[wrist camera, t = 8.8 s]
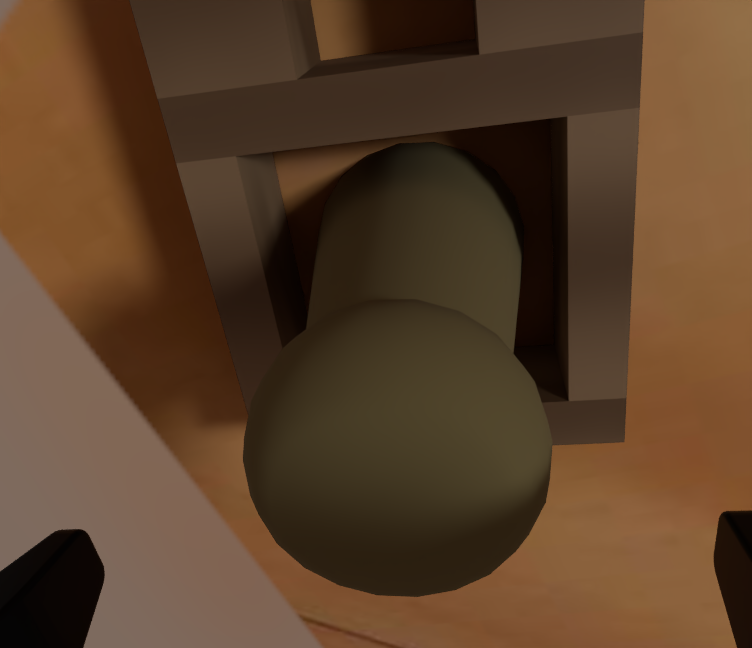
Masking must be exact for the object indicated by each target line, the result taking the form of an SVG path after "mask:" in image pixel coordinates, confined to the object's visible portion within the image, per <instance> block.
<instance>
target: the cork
mask: <svg viewBox="0 0 752 648" xmlns="http://www.w3.org/2000/svg"><path fill="white" fill-rule="evenodd" d="M523 247H524V224H523V221H522V218H521V215H520V211H519V208H518V205H517V202H516V198H515V196H514V195H513V193H512V192H511V191H510V189H509V188H508V187H507V185H506V184H505V183H504V181H503V180H502V179H501V177H500V176H499V175H498V173H497V172H496V171H495V170H494V169H492V168H491V167H489V166H488V165H486V164H485V163H483V162H482V161H481V160H479V159H478V158H476V157H475V156H473V155H472V154H470V153H469V152H467V151H464V150H460V149H457V148H453V147H450V146H446V145H443V144H439V143H435V142H423V143H400V144H397V145H394V146H391V147H389V148H386V149H383V150H381V151H378V152H375V153H373V154H370V155H367V156H366V157H365V158H364V159H362V160H361V161H360V162H359V163H358V164H356V165H355V166H354V167H353V168H351V169H350V170H349V171H348V172H347V173H345V174H344V175H343V176H342V177H341V179H340V180H339V182H338V183H337V185H336V187H335V188H334V190H333V191H332V193H331V195H330V196H329V198H328V200H327V201H326V203H325V207H324V212H323V216H322V221H321V225H320V230H319V235H318V243H317V250H316V258H315V266H314V273H313V281H312V288H311V296H310V303H309V311H308V318H307V326H306V330H304V331H303V332H302V333H300V334H299V335H297V336H296V337H295V338H294V339H293V340H292V341H290V342H289V343H288V344H287V345H286V346H285V347H284V348H283V349H282V350H281V352H280V353H279V355H278V356H277V358H276V359H275V361H274V362H273V364H272V365H271V367H270V368H269V370H268V371H267V373H266V374H265V376H264V377H263V379H262V380H261V382H260V384H259V386H258V388H257V390H256V392H255V394H254V396H253V398H252V400H251V405H250V410H249V416H248V421H247V426H246V431H245V436H244V450H243V463H244V467H245V472H246V477H247V482H248V486H249V491H250V496H251V498H252V500H253V503H254V505H255V507H256V509H257V512H258V514H259V516H260V517H261V519H262V520H263V522H264V524H265V525H266V527H267V528H268V530H269V532H270V533H271V535H272V536H273V538H274V540H275V541H276V543H277V544H278V545H279V546H280V547H281V548H283V549H284V550H285V551H286V552H287V553H288V554H290V555H291V556H292V557H293V558H294V559H295V560H296V561H298V562H299V563H300V564H301V565H302V566H303V567H304V568H306V569H308V570H310V571H312V572H314V573H316V574H318V575H320V576H322V577H324V578H326V579H328V580H330V581H332V582H334V583H336V584H338V585H340V586H344V587H348V588H352V589H356V590H360V591H363V592H367V593H371V594H375V595H386V596H410V597H419V596H425V595H430V594H436V593H441V592H447V591H452V590H457V589H459V588H461V587H463V586H465V585H468V584H470V583H472V582H474V581H476V580H479V579H481V578H483V577H485V576H487V575H490V574H491V573H492V572H493V571H494V570H495V569H496V568H497V567H499V566H500V565H501V564H502V563H503V562H504V561H505V560H507V559H508V558H509V557H510V556H511V555H512V554H513V553H514V552H516V550H517V549H518V548H519V546H520V545H521V544H522V543H523V541H524V540H525V539H526V537H527V536H528V535H529V533H530V531H531V529H532V527H533V525H534V524H535V522H536V520H537V518H538V516H539V514H540V512H541V510H542V508H543V506H544V505H545V503H546V498H547V492H548V486H549V481H550V469H551V456H552V443H553V441H552V437H551V432H550V428H549V424H548V419H547V416H546V413H545V411H544V408H543V405H542V402H541V399H540V396H539V393H538V390H537V387H536V384H535V381H534V380H533V378H532V377H531V376H530V374H529V373H528V372H527V370H526V369H525V368H524V366H523V365H522V364H521V362H520V361H519V360H518V359H517V358H516V356H515V355H514V354H513V353H514V343H515V333H516V323H517V313H518V303H519V293H520V283H521V273H522V263H523Z"/></svg>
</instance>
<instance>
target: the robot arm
mask: <svg viewBox="0 0 752 648" xmlns="http://www.w3.org/2000/svg"><path fill="white" fill-rule="evenodd" d="M714 567H715V573H716V576H717V580H718V583H719V587H720V590H721V594H722V597H723V601H724V604H725V607H726V611H727V614H728V618H729V621H730V625H731V628H732V632H733V635H734V639H735V642H736V645H737V648H752V511H726V512H723V513H722V514H721V515H720V517H719V521H718V528H717V535H716V542H715V549H714ZM104 576H105V574H104V566H103V563H102V561H101V559H100V557H99V555H98V553H97V551H96V549H95V547H94V545H93V543H92V541H91V539H90V537H89V535H88V534H87V533H86V532H85V531H84V530H81V529H72V530H58V531H55V532H54V533H52V534H51V535H49V536H48V537H47V538H45V539H44V540H42V541H41V542H40V543H38V544H37V545H36V546H34V547H33V548H32V549H30V550H29V551H28V552H26V553H25V554H24V555H22V556H21V557H19V558H18V559H17V560H15V561H14V562H13V563H11V564H10V565H9V566H7V567H6V568H4V569H3V570H2V571H0V648H83V647H84V644H85V640H86V637H87V634H88V631H89V628H90V625H91V621H92V618H93V615H94V612H95V609H96V605H97V602H98V599H99V596H100V593H101V589H102V586H103V583H104Z"/></svg>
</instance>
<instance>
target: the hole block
mask: <svg viewBox="0 0 752 648" xmlns="http://www.w3.org/2000/svg"><path fill="white" fill-rule="evenodd" d="M129 1H130V5H131V8H132V12H133V15H134V19H135V22H136V26H137V29H138V33H139V36H140V39H141V43H142V46H143V50H144V53H145V57H146V60H147V64H148V67H149V71H150V74H151V78H152V81H153V85H154V88H155V92H156V95H157V99H158V102H159V106H160V109H161V113H162V116H163V120H164V123H165V127H166V130H167V133H168V137H169V140H170V144H171V147H172V151H173V154H174V158H175V161H176V165H177V168H178V172H179V175H180V179H181V182H182V186H183V189H184V193H185V196H186V200H187V203H188V207H189V210H190V214H191V217H192V221H193V224H194V228H195V231H196V234H197V238H198V241H199V245H200V248H201V252H202V255H203V259H204V262H205V266H206V269H207V273H208V276H209V280H210V283H211V287H212V290H213V294H214V297H215V301H216V304H217V308H218V311H219V315H220V318H221V322H222V325H223V328H224V332H225V335H226V339H227V342H228V346H229V349H230V353H231V356H232V360H233V363H234V367H235V370H236V374H237V377H238V381H239V384H240V388H241V391H242V395H243V398H244V402H245V405H246V409H247V412H248V416H249V410H250V405H251V400H252V398H253V396H254V394H255V392H256V390H257V388H258V386H259V384H260V382H261V380H262V379H263V377H264V376H265V374H266V373H267V371H268V370H269V368H270V367H271V365H272V364H273V362H274V361H275V359H276V358H277V356H278V355H279V353H280V352H281V350H282V349H283V348H284V347H285V346H286V345H287V344H288V343H289V342H290V341H292V340H293V339H294V338H295V337H296V336H297V335H299V334H300V333H302V332H303V331H304V330H306V326H307V318H308V315H307V311H306V306H305V302H304V297H303V292H302V288H301V283H300V278H299V274H298V269H297V265H296V260H295V255H294V251H293V246H292V241H291V237H290V232H289V227H288V223H287V218H286V214H285V209H284V204H283V200H282V195H281V190H280V186H279V181H278V177H277V172H276V167H275V163H274V158H273V153H272V152H275V151H284V150H292V149H300V148H309V147H317V146H325V145H334V144H342V143H350V142H359V141H367V140H375V139H384V138H392V137H400V136H408V135H417V134H425V133H433V132H442V131H450V130H458V129H467V128H475V127H483V126H492V125H500V124H508V123H517V122H525V121H533V120H542V119H550V121H551V182H552V242H553V303H554V345H543V346H528V347H514V353H513V354H514V355H515V356H516V358H517V359H518V360H519V361H520V362H521V364H522V365H523V366H524V368H525V369H526V370H527V372H528V373H529V374H530V376H531V377H532V378H533V380H534V381H535V384H536V387H537V390H538V393H539V396H540V399H541V402H542V405H543V408H544V411H545V413H546V416H547V419H548V424H549V428H550V432H551V437H552V441H553V443H552V445H570V444H593V443H615V442H624V439H625V417H626V395H627V373H628V351H629V329H630V307H631V286H632V264H633V242H634V220H635V198H636V176H637V154H638V132H639V110H640V88H641V66H642V44H643V22H644V0H473V10H474V25H475V39H472V40H465V41H458V42H451V43H444V44H437V45H430V46H423V47H416V48H409V49H401V50H394V51H387V52H380V53H373V54H366V55H359V56H352V57H345V58H338V59H331V60H323V61H320V55H319V49H318V43H317V37H316V31H315V25H314V19H313V14H312V8H311V2H310V0H129Z"/></svg>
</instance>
